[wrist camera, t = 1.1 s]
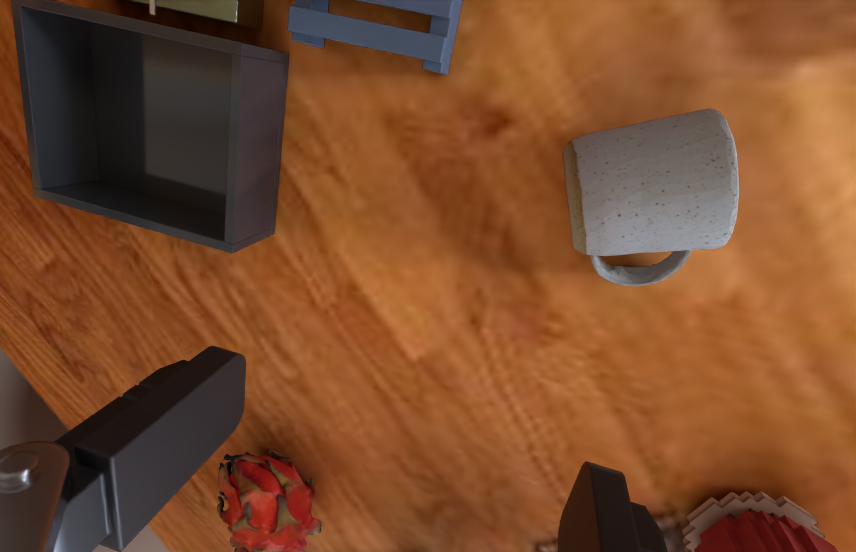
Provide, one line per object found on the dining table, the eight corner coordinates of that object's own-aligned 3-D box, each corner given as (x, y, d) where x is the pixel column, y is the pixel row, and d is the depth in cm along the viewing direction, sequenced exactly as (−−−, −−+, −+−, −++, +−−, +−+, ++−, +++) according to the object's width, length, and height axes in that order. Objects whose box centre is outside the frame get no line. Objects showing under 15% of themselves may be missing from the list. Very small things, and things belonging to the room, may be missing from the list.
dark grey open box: (88, 9, 34) (9, -9, 29) (289, 53, 32) (242, 42, 27) (99, 185, 39) (33, 196, 34) (274, 234, 37) (232, 253, 32)
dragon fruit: (326, 517, 49) (268, 419, 48) (354, 534, 42) (286, 420, 41) (252, 581, 44) (187, 474, 44) (269, 613, 37) (192, 485, 37)
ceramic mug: (555, 135, 30) (561, 145, 23) (695, 106, 28) (748, 107, 21) (575, 285, 33) (585, 334, 26) (702, 270, 31) (749, 319, 24)
